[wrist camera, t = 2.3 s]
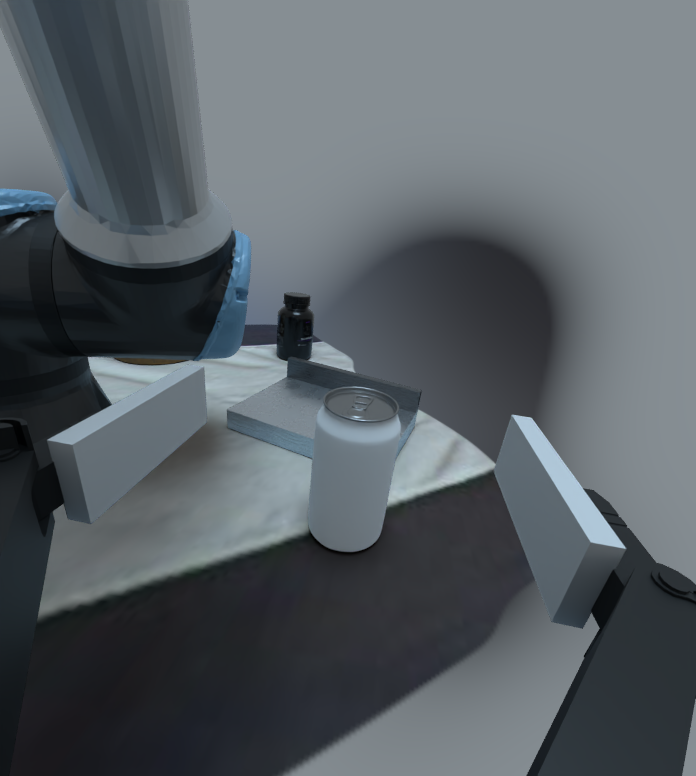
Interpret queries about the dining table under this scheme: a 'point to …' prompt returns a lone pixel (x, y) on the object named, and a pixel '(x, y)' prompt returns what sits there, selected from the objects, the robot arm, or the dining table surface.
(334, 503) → the can
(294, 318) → the supplement bottle
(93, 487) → the robot arm
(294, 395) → the grey tray
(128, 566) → the dining table surface
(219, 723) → the dining table surface
